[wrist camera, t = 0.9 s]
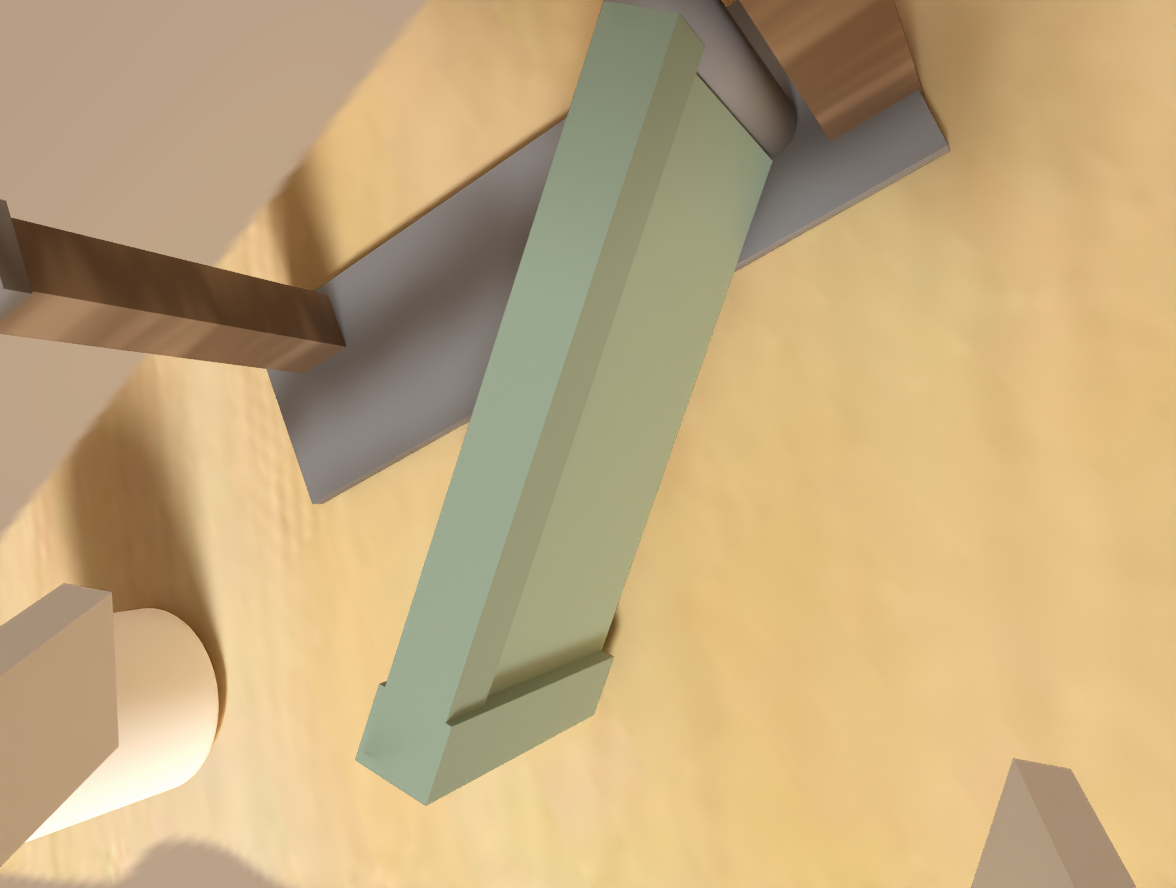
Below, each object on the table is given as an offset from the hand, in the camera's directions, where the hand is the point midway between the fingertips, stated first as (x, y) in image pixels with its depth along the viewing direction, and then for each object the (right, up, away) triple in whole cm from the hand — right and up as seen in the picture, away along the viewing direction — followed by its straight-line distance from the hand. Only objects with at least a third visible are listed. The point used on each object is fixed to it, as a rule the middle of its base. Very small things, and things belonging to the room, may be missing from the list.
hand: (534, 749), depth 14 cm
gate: (+3, +6, +18) cm, 19 cm away
